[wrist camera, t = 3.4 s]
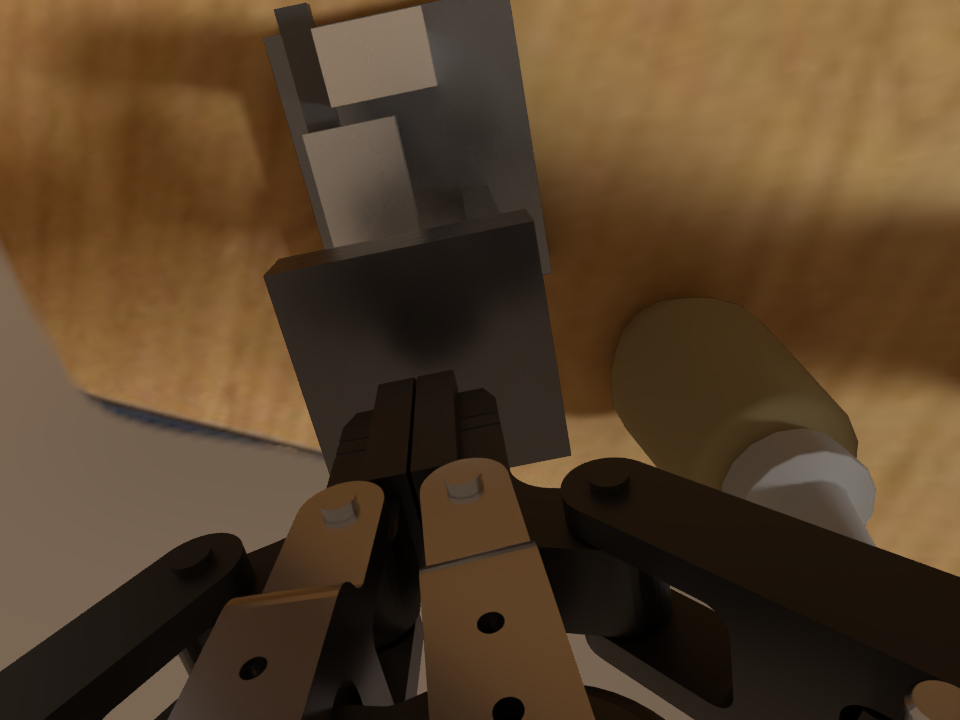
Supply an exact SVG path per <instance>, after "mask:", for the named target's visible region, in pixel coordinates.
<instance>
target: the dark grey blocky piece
mask: <svg viewBox="0 0 960 720" xmlns="http://www.w3.org/2000/svg"><path fill="white" fill-rule="evenodd" d="M302 137H303V140H304V144H305V147H306V151H307V154H308V158H309V161H310V165H311V168H312V172H313V175H314V179H315V182H316V186H317V189H318V193H319V196H320V200H321V203H322V207H323V210H324V214H325V218H326V221H327V225H328V228H329V232H330V235H331V239H332V242H333V246H334V248H330V249H325V250H320V251H315V252H310V253H306V254H301V255H296V256H291V257H286V258H281V259H278V260H277V261H276V263H275V264H274V265H273V266H272V267H271V268H270V269H269V270H268V271H267V272H266V274H265V275H264V276H263V277H264V280H265V283H266V286H267V289H268V292H269V295H270V298H271V301H272V304H273V307H274V310H275V313H276V316H277V319H278V322H279V325H280V328H281V331H282V334H283V337H284V340H285V343H286V346H287V349H288V352H289V355H290V358H291V361H292V364H293V367H294V370H295V373H296V376H297V379H298V382H299V385H300V388H301V390H302V393H303V396H304V399H305V402H306V405H307V408H308V411H309V414H310V417H311V420H312V423H313V426H314V429H315V432H316V435H317V438H318V441H319V444H320V447H321V450H322V453H323V456H324V459H325V462H326V465H327V468H328V471H329V474H331V470H332V467H333V463H334V459H335V458H336V452H337V448H338V445H339V441H340V437H341V434H342V430H343V427H344V426H345V425H346V424H347V423H348V422H349V421H350V420H351V419H352V418H353V417H354V416H355V414H356V413H359V412H364V411H369V410H374V405H375V400H376V394H377V389H378V385H379V384H383V383H388V382H393V381H398V380H403V379H408V378H413V377H415V378H416V380H417V377H418V376H423V375H428V374H433V373H438V372H443V371H448V370H453V371H454V374H455V378H456V382H457V386H458V391H459V392H464V391H469V390H474V389H479V388H484V389H485V390H486V391H488V392H489V393H490V394H492V395H493V396H494V397H495V398H496V403H497V407H498V412H499V417H500V422H501V427H502V432H503V437H504V442H505V447H506V452H507V457H508V461H509V467H515V466H520V465H525V464H531V463H536V462H541V461H546V460H551V459H556V458H561V457H566V456H571V450H570V444H569V438H568V431H567V425H566V419H565V413H564V406H563V400H562V394H561V388H560V381H559V375H558V369H557V362H556V356H555V350H554V344H553V337H552V331H551V325H550V318H549V312H548V306H547V300H546V293H545V287H544V281H543V274H542V268H541V262H540V256H539V249H538V243H537V237H536V231H535V224H534V220H533V219H532V217H531V216H530V214H529V213H528V211H527V210H526V209H521V210H516V211H511V212H506V213H501V214H496V215H491V216H487V217H482V218H477V219H472V220H467V221H462V222H457V223H452V224H447V225H442V226H438V227H433V228H428V229H423V230H421V225H420V221H419V217H418V212H417V208H416V203H415V199H414V195H413V190H412V186H411V181H410V177H409V173H408V168H407V164H406V160H405V155H404V151H403V146H402V142H401V138H400V133H399V129H398V125H397V120H396V116H395V115H392V116H387V117H382V118H378V119H373V120H368V121H363V122H358V123H354V124H349V125H344V126H339V127H334V128H330V129H325V130H320V131H315V132H310V133H306V134H304V135H302Z"/></svg>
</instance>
